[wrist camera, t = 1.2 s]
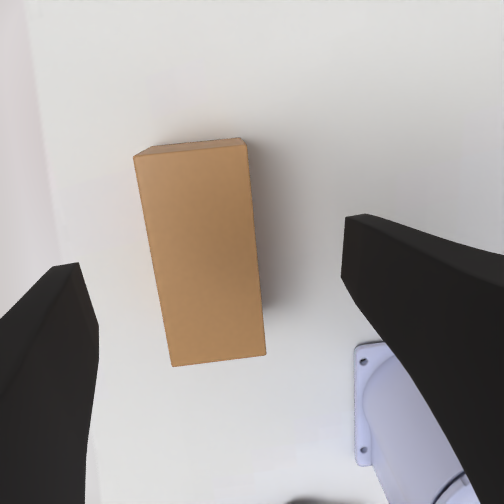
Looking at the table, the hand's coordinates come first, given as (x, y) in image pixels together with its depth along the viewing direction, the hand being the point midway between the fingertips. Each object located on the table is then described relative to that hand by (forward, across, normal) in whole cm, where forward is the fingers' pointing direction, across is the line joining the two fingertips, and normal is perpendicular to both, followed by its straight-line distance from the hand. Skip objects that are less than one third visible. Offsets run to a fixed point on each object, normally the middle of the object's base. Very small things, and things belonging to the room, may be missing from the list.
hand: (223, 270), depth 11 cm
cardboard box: (+10, -1, +4) cm, 11 cm away
